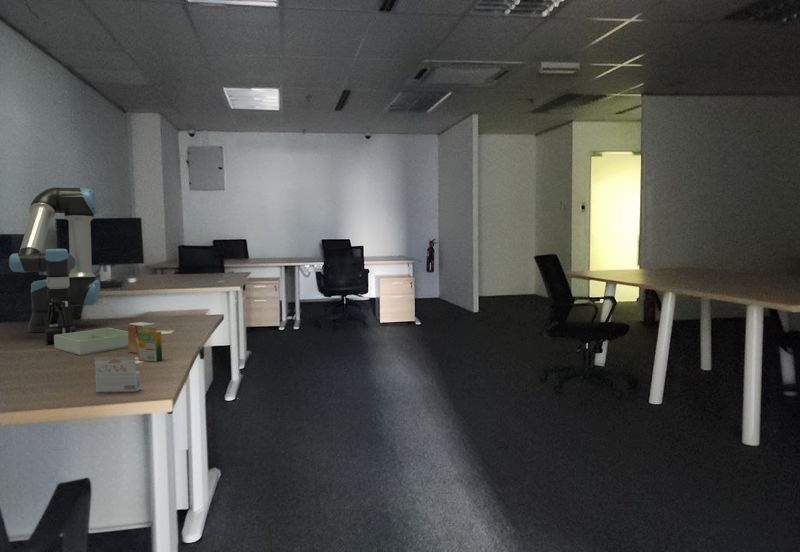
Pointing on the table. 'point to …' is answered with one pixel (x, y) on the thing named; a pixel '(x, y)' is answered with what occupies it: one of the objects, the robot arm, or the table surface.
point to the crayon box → (149, 344)
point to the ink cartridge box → (116, 374)
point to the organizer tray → (91, 341)
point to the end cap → (55, 333)
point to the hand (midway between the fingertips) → (60, 342)
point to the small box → (136, 334)
